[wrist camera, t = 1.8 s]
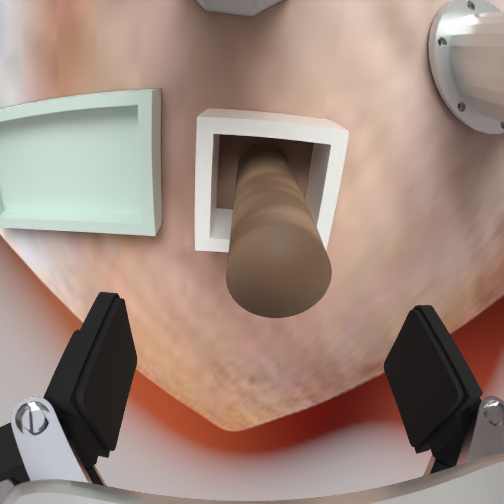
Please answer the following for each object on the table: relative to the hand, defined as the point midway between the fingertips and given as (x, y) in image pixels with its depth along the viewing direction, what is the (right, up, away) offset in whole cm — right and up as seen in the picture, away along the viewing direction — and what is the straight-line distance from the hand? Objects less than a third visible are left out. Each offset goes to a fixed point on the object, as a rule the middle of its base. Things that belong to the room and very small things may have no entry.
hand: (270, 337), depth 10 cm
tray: (-17, +11, +13) cm, 24 cm away
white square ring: (0, +9, +14) cm, 17 cm away
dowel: (0, +9, +14) cm, 17 cm away
